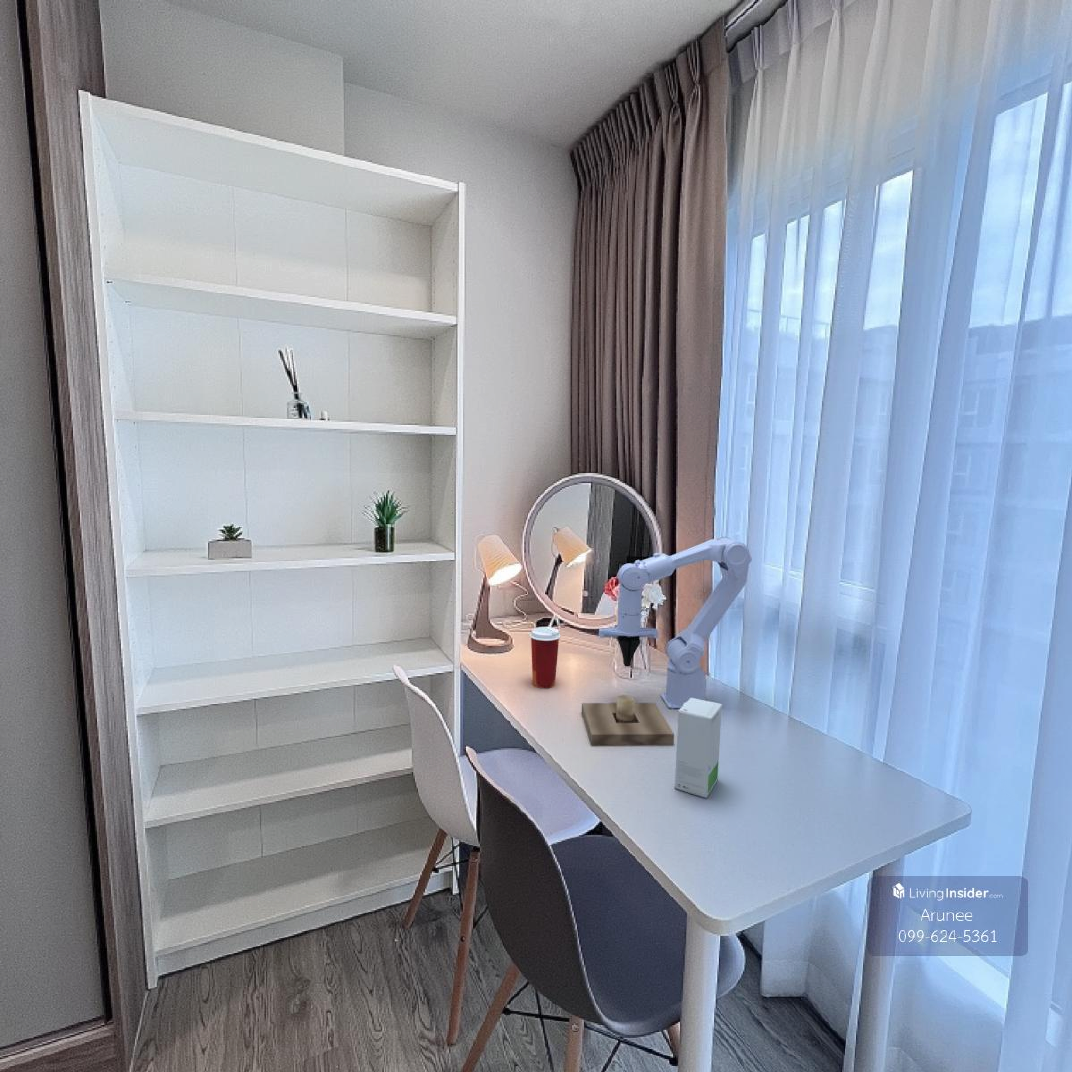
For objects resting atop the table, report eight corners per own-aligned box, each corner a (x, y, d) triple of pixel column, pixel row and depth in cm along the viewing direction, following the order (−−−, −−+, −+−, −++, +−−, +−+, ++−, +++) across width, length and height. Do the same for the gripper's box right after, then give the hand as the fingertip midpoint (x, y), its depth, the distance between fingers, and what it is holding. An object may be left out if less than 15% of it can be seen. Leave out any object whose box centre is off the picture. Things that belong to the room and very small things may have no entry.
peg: (629, 723, 138) (630, 694, 138) (636, 731, 134) (637, 702, 133) (612, 724, 138) (614, 695, 137) (619, 732, 134) (620, 703, 133)
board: (654, 712, 144) (655, 702, 144) (673, 744, 129) (674, 734, 128) (581, 712, 143) (581, 703, 143) (591, 745, 127) (591, 734, 127)
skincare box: (706, 799, 108) (711, 719, 106) (671, 788, 112) (676, 710, 110) (718, 778, 116) (724, 703, 113) (685, 768, 119) (690, 695, 117)
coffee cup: (565, 684, 161) (566, 630, 159) (544, 692, 155) (546, 637, 153) (542, 675, 166) (543, 624, 164) (522, 683, 160) (523, 630, 158)
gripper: (654, 608, 151) (651, 659, 153) (597, 607, 150) (595, 659, 152) (661, 616, 144) (658, 669, 146) (602, 615, 143) (600, 669, 145)
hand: (626, 664), depth 148 cm, fingers closed
